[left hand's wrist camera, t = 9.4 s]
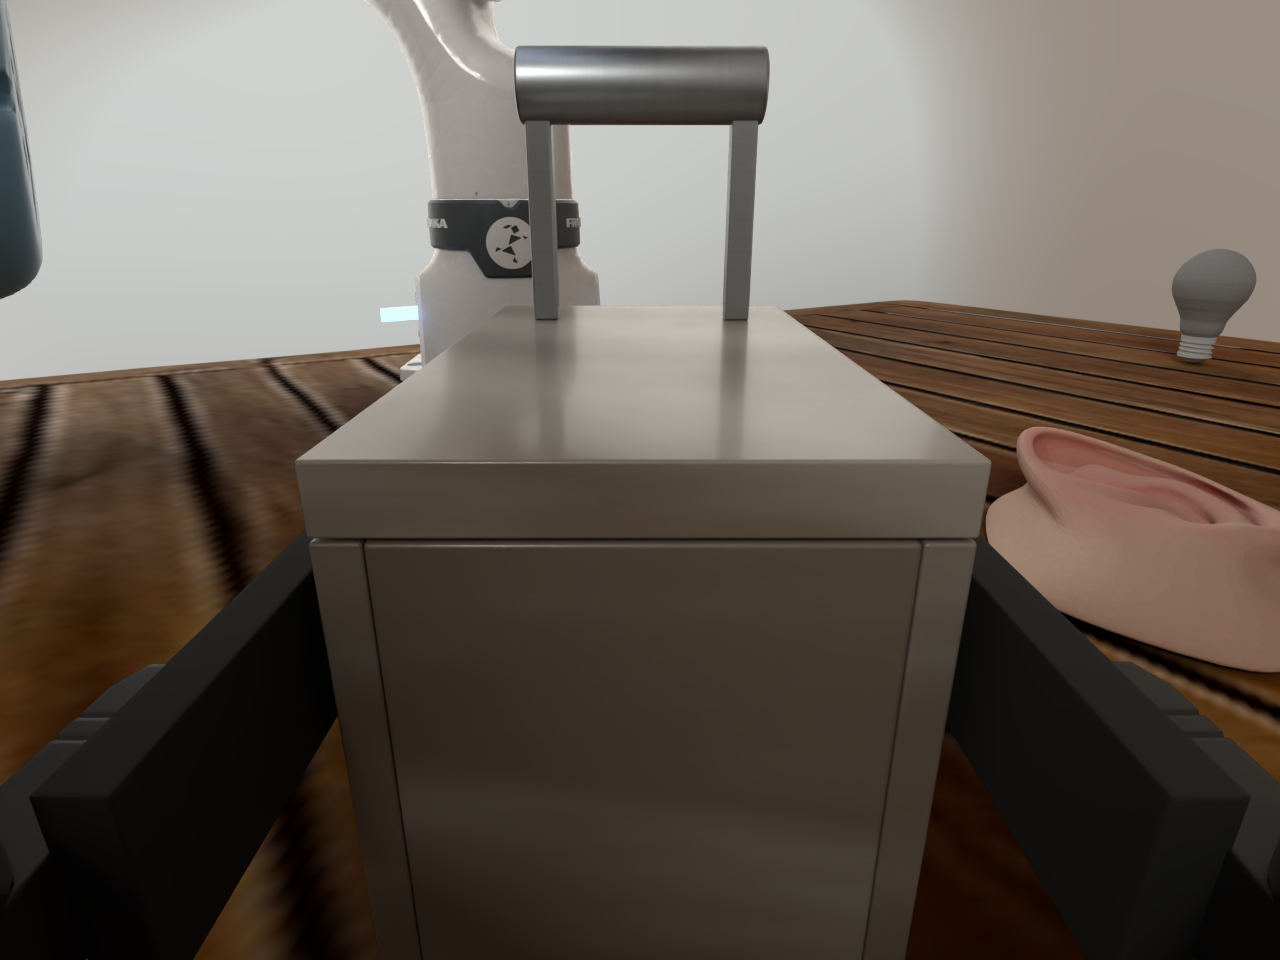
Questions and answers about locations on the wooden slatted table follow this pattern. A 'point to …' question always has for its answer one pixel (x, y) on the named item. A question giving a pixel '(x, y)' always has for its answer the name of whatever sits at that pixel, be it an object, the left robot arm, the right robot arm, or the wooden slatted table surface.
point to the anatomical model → (1144, 549)
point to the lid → (642, 379)
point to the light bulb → (1209, 298)
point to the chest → (642, 740)
